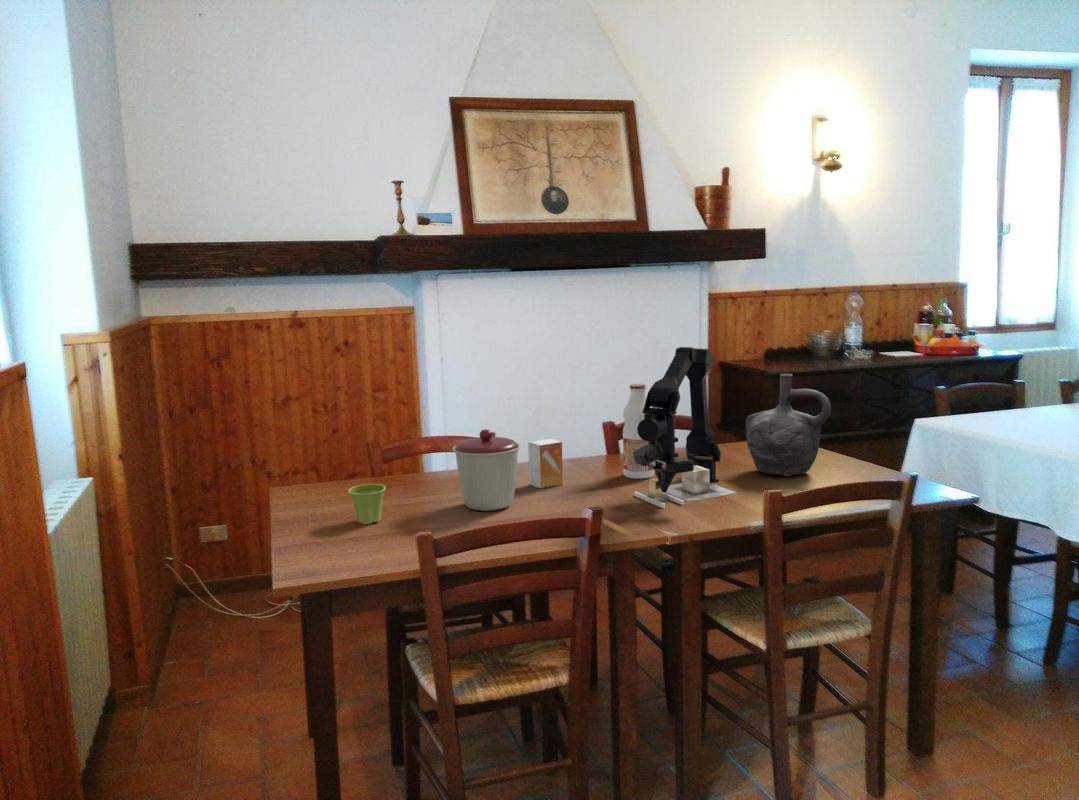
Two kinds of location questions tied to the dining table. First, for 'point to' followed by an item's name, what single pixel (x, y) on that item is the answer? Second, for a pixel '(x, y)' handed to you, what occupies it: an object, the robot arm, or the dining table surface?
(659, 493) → the lever
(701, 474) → the block
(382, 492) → the plant pot
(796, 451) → the vessel
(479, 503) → the canister
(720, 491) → the plate
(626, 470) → the fruit juice
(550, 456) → the small box
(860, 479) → the dining table surface
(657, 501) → the rail
